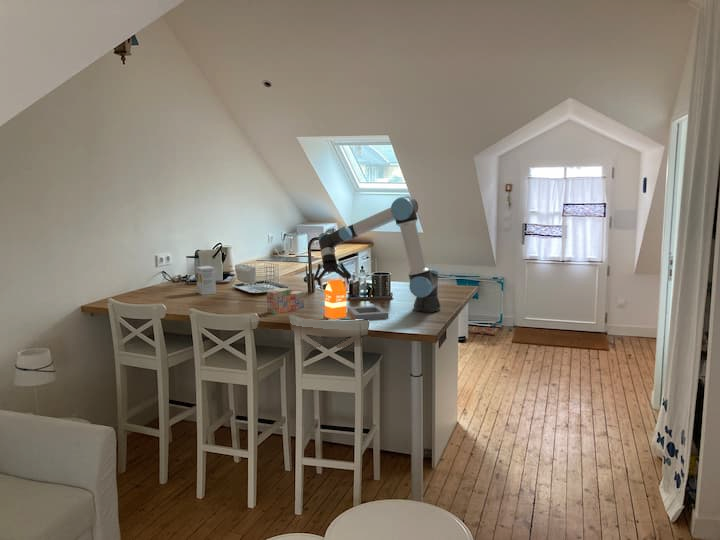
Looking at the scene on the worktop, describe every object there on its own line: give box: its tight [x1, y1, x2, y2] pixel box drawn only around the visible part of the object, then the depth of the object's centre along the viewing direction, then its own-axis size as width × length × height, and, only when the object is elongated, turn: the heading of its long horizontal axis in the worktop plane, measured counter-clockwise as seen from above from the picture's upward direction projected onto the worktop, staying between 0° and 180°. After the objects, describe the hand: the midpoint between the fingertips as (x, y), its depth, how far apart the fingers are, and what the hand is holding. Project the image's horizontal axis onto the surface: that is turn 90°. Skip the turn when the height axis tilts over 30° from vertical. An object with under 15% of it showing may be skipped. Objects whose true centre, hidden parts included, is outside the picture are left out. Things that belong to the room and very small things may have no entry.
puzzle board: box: [346, 305, 389, 321], centre depth 321 cm, size 18×18×3 cm
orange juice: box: [324, 278, 347, 319], centre depth 315 cm, size 8×9×20 cm
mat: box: [323, 314, 351, 320], centre depth 317 cm, size 12×12×1 cm
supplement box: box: [195, 265, 217, 296], centre depth 380 cm, size 10×9×17 cm
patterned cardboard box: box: [266, 287, 305, 315], centre depth 333 cm, size 21×6×12 cm, turn 135°
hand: (334, 289), depth 316 cm, fingers open, 13 cm apart
